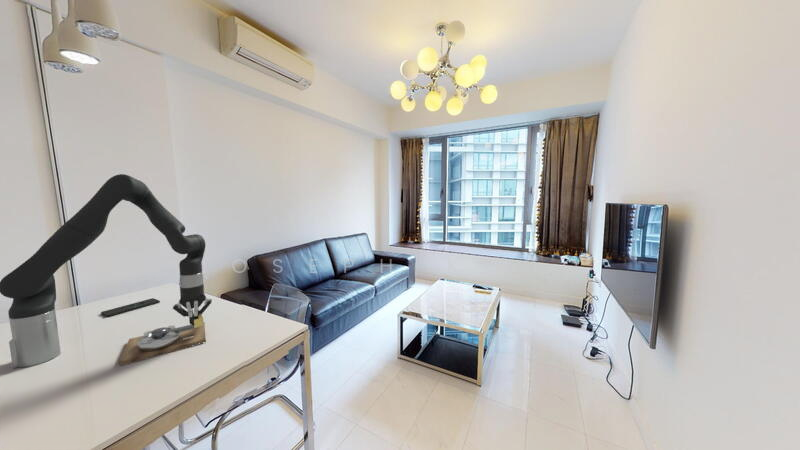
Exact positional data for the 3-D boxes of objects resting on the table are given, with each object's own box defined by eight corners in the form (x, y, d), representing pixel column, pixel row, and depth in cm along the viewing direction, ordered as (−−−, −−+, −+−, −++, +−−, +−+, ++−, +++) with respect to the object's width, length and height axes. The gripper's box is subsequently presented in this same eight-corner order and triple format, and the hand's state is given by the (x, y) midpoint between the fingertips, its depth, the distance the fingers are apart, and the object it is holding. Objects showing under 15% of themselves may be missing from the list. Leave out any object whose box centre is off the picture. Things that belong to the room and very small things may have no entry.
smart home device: (160, 300, 140) (107, 315, 122) (160, 303, 141) (107, 318, 123) (152, 297, 144) (100, 311, 126) (153, 300, 144) (100, 315, 126)
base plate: (119, 365, 89) (118, 361, 88) (129, 342, 103) (129, 338, 102) (205, 342, 104) (205, 338, 103) (204, 324, 118) (204, 321, 117)
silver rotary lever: (139, 341, 101) (138, 323, 100) (202, 325, 114) (201, 309, 113) (136, 355, 92) (135, 336, 91) (204, 336, 105) (203, 319, 104)
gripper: (213, 278, 110) (214, 317, 112) (172, 283, 104) (175, 323, 106) (210, 284, 104) (213, 324, 106) (168, 289, 97) (171, 332, 99)
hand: (194, 324), depth 106 cm, fingers closed
